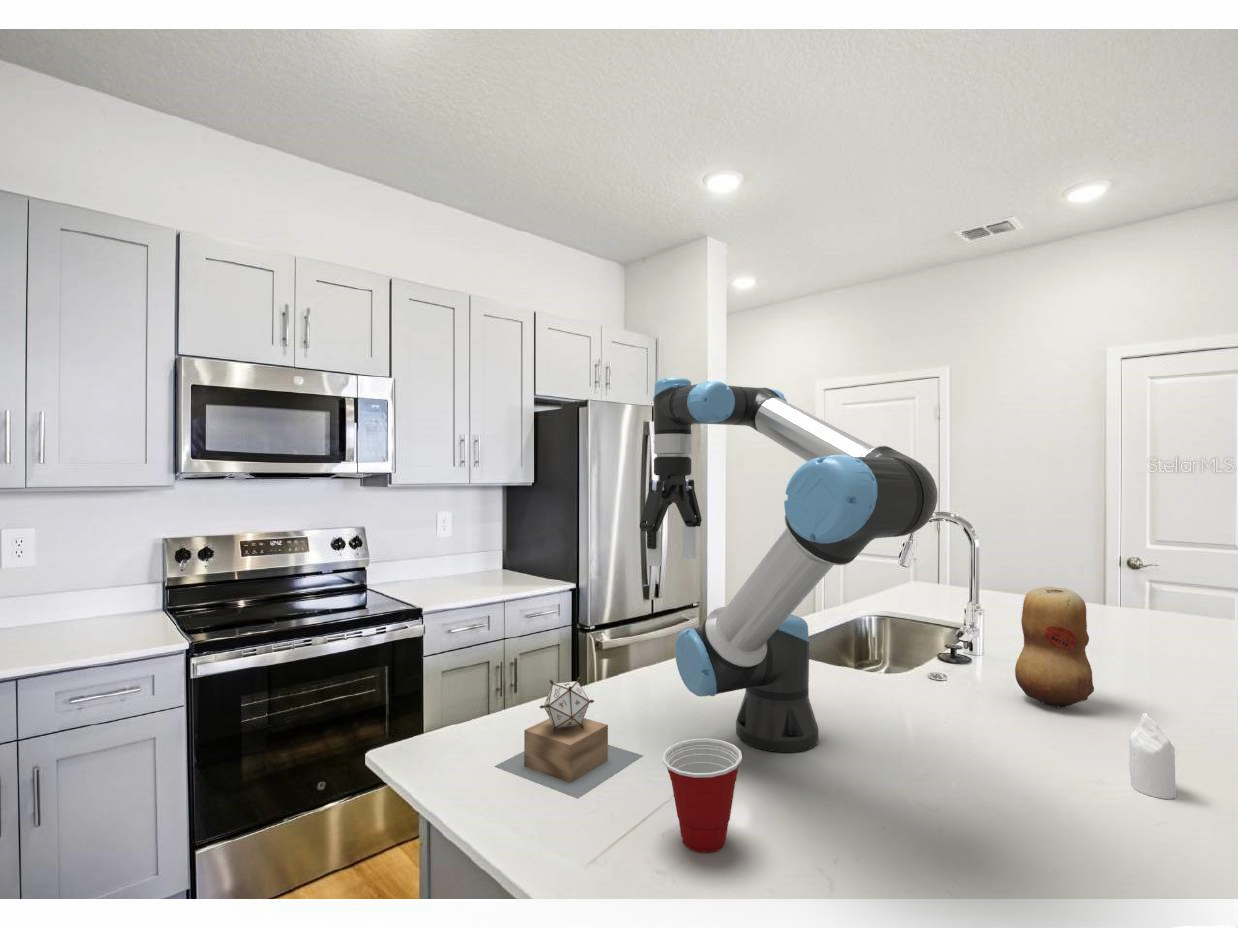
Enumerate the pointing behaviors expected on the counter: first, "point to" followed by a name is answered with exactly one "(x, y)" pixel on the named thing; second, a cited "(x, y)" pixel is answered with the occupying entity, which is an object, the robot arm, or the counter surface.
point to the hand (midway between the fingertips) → (672, 561)
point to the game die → (566, 704)
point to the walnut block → (566, 748)
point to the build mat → (583, 784)
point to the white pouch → (1152, 760)
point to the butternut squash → (1054, 648)
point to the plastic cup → (703, 789)
